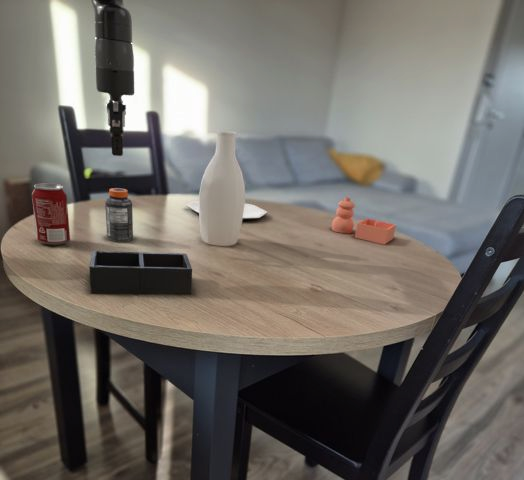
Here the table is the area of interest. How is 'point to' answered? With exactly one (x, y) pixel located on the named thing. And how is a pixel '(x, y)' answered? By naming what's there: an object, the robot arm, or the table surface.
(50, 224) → the soda can
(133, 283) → the bottle rack
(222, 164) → the bottle
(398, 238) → the table surface
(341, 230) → the pottery
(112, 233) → the pill bottle
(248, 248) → the table surface
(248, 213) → the plate
